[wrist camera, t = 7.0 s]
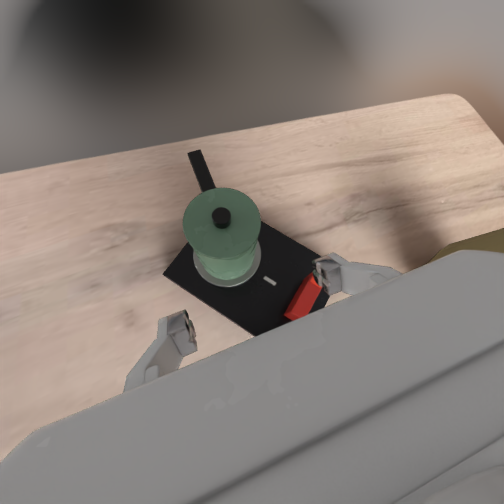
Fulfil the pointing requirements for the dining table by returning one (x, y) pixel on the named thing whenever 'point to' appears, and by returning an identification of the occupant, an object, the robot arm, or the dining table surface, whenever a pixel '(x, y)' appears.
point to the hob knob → (303, 298)
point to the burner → (230, 282)
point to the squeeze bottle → (476, 244)
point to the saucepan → (221, 225)
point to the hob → (254, 283)
